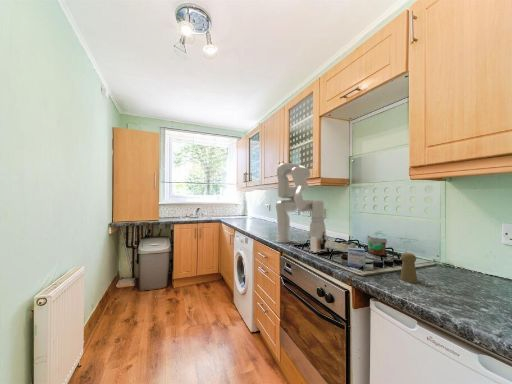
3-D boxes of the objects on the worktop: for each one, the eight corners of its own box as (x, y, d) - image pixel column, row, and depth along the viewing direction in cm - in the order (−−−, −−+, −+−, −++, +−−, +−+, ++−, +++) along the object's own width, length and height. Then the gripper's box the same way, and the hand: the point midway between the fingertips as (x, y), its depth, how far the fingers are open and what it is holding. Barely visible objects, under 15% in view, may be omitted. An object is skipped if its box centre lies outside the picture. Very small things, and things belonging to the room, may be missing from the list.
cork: (396, 278, 94) (396, 252, 94) (406, 276, 97) (405, 251, 97) (411, 284, 89) (411, 256, 89) (421, 281, 91) (420, 254, 91)
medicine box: (347, 266, 111) (347, 248, 111) (347, 263, 115) (347, 247, 115) (365, 268, 108) (365, 250, 108) (364, 265, 112) (364, 248, 112)
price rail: (315, 244, 159) (315, 236, 159) (318, 244, 160) (318, 236, 161) (352, 254, 133) (352, 244, 133) (355, 253, 135) (355, 243, 135)
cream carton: (310, 251, 141) (310, 237, 141) (319, 249, 145) (319, 235, 145) (316, 253, 137) (316, 238, 137) (325, 251, 141) (325, 237, 141)
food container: (361, 252, 138) (361, 236, 138) (368, 251, 141) (368, 235, 141) (380, 257, 127) (379, 239, 127) (387, 256, 130) (387, 238, 130)
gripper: (303, 219, 147) (304, 246, 147) (324, 221, 132) (324, 251, 132) (312, 218, 151) (312, 244, 150) (332, 221, 136) (333, 250, 135)
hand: (317, 247), depth 141 cm, fingers open, 7 cm apart
